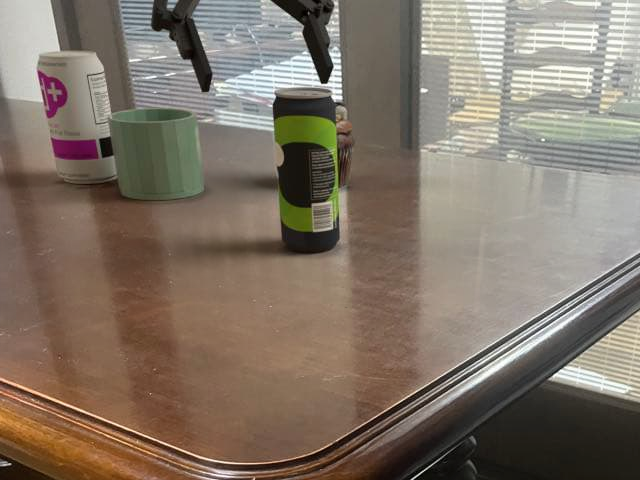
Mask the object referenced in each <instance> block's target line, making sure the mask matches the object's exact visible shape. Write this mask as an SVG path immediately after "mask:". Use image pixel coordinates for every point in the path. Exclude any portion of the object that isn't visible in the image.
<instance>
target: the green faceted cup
mask: <svg viewBox="0 0 640 480" xmlns="http://www.w3.org/2000/svg"><path fill="white" fill-rule="evenodd" d="M107 119H108V124H109V130H110V136H111V142H112V148H113V154H114V160H115V166H116V172H117V178H116V179H117V183H118V188H119V193H120V194H121V196H123V197H124V198H129V199H133V200H139V201H171V200H172V201H173V200H180V199H185V198H191V197H194V196H197V195H199V194H201V193H203V192H204V191H205V189H206V187H205V175H204V166H203V159H202V151H201V150H202V149H201V142H200V134H199V133H200V132H199V124H198V115H197V113H196V112H195V111H192V110H190V109H183V108H174V107H171V108H170V107H146V108H145V107H144V108H143V107H142V108H133V109H126V110H119V111H116V112H111V114H110V115H108V117H107Z"/></svg>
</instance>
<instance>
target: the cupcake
mask: <svg viewBox="0 0 640 480" xmlns="http://www.w3.org/2000/svg"><path fill="white" fill-rule="evenodd" d="M334 102H335V106H336V137H337V167H338V188H342V187H344V186H346V185H348V183H349V179H350V173H351V167H352V158H353V154H354V150H355V144H356V140H355V138H354V135H353V134H352V131H354V130H353V125H352V123H351V122H350V121H349V120H348V110H347V108H346V107H345V106H346V105H345V103H344V102H341V101H334Z"/></svg>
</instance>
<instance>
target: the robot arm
mask: <svg viewBox="0 0 640 480" xmlns="http://www.w3.org/2000/svg"><path fill="white" fill-rule="evenodd" d="M200 1H201V0H177V2H176V4H175V5H174V7H173V9H172V10H170V9H168V4H169V0H153V3H152V10H151V18H150V19H151V20H150V27H151V29H152V30H153V31H154V32H162V31H163V30H165V31H168V32H169V33H168V38H169V39H170V40H171V41H172V42H174V43H175V45H176V47H177V50H178V53H179V56H180V57H181V59H182V60H183V61H188V60H189V61H190V64H191V65H192V66H191V67H192V69H193V70H194V73H195V74H194V75H195V76H196V77H195V78H196V79H197V82H198V85H199V87H200V90H201V93H210V89H211V84H212V78H213V75H214V74H213V73H214V72H213V70H212V67H211V64H210V61H209V60H208V56H207V53H206V50H205V48H204V45H203V43H202V40H201V37H200V34H199V31H198V29H197V26H196V23H195V20H194V18H193V17H192V16H193V14H194V12H195V11H196V9H197V7H198V6H199V4H200ZM270 2H271V3H273V4H275V5H276V6H277V7H278V8H280V9H281V10H282V11H284V12H285V13H286V14H287V15H289V16H290V17H292V18H293V19H294V20H296V21H297V22H298V23H299V24H300V25H302V26H303V29H302V31H301V34H302V36H303V37H302V38H303V40H304V42H305V45H306V47H307V50H308V53H309V56H310V58H311V61H312V64H313V66H314V69H315V72H316V75H317V77H318V80H319V82H320V85H327V84H328V83H329V81H330V79H331V75H332V73H333V71H334V67H335V65H334V62H333V59H332V57H331V54H330V51H329V48H330V46H331V45H330V44H331V37H330V35H329V32H328V29H327V27H326V26H328V25H329V23H330V21H331V18H332V15H333V13H334V9H335V7H336V6H335V5H336V4H335V2H334V1H333V0H270Z"/></svg>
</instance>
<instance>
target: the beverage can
mask: <svg viewBox="0 0 640 480" xmlns="http://www.w3.org/2000/svg"><path fill="white" fill-rule="evenodd" d="M273 95H274V96H275V98H274V101H273V102H272V117H273V120H272V121H273V133H274V147H275V162H276V164H275V165H276V176H277V190H278V192H277V193H278V203H279V218H280V235H281V241H282V242H283V243H284V244H285V246H286V247H287V248H288V249H289V250H290V251H294V252H298V253H305V254H307V253H312V254H313V253H323V252H327V251H330V250H332V249H334V248H335V247H336V245H337V243H338V242H339V241H340V238H341V232H340V204H339V203H340V202H339V187H338V167H337V137H336V106H335V102H336V101H335V100H334V99H333V97H332V96H333V90H332V89H329V88H323V87H314V86H313V87H311V86H297V87H284V88H278V89H275V90H274V92H273Z"/></svg>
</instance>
